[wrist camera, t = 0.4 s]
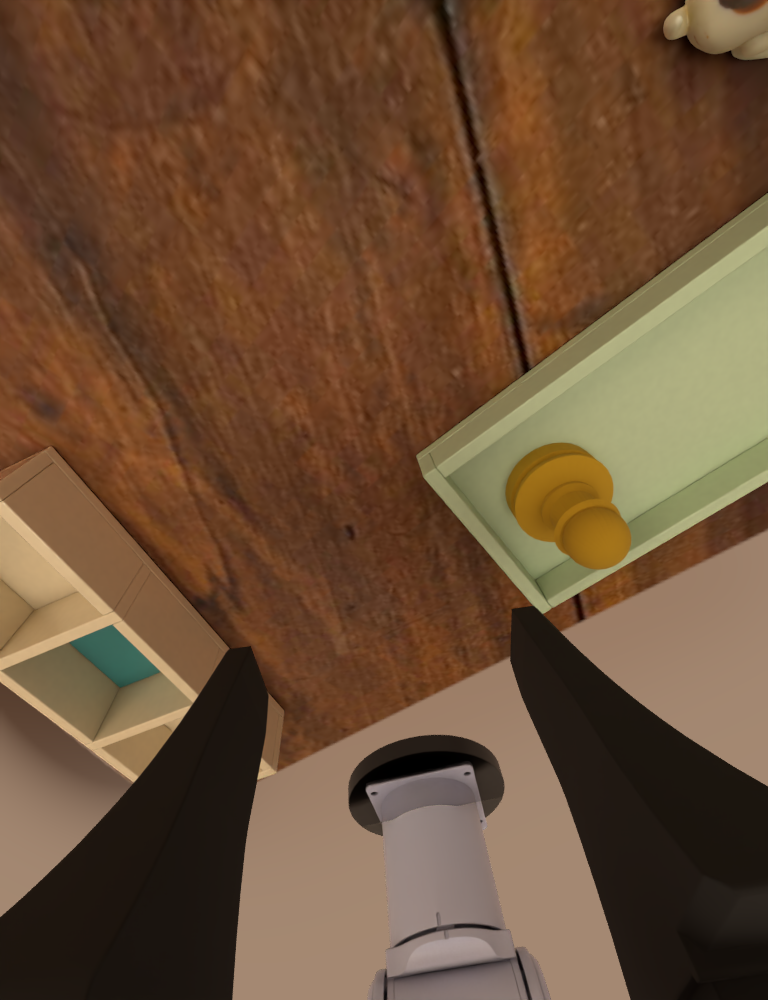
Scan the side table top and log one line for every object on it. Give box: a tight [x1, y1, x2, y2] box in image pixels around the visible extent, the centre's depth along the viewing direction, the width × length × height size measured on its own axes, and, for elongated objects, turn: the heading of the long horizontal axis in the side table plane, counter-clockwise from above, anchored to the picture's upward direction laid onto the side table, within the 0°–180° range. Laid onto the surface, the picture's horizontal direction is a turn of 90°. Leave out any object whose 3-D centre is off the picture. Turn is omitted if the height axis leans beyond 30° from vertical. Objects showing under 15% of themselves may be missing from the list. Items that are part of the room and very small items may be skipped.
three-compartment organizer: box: [0, 446, 284, 782], centre depth 20 cm, size 18×6×4 cm, turn 23°
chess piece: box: [505, 442, 631, 570], centre depth 17 cm, size 4×4×5 cm
